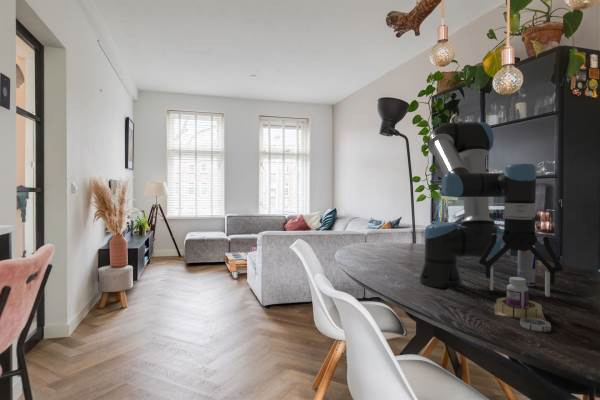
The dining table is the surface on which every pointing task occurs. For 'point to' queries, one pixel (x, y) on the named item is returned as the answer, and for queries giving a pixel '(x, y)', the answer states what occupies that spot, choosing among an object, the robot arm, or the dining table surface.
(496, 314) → the oak plate
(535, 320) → the grey collar
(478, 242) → the robot arm
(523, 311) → the brass collar
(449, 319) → the dining table surface
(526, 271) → the beverage can
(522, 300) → the pill bottle
